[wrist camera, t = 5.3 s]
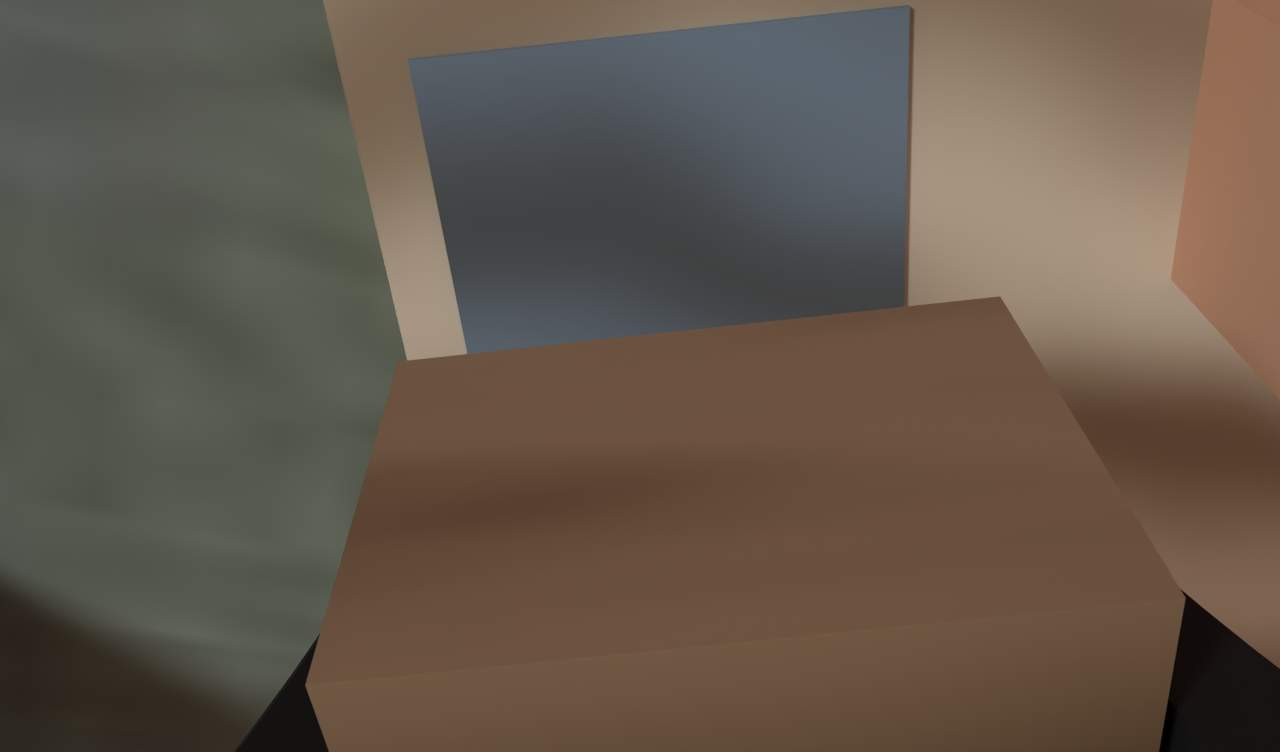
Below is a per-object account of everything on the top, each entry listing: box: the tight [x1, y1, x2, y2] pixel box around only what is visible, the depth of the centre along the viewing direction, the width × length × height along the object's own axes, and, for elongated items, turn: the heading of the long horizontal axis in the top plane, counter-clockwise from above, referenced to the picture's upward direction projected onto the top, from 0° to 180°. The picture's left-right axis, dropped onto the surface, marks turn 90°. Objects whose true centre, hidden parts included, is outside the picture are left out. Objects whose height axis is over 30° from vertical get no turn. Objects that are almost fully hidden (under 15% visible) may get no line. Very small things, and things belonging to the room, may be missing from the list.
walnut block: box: [305, 296, 1186, 752], centre depth 11 cm, size 6×6×4 cm
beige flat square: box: [323, 0, 1280, 668], centre depth 21 cm, size 20×18×1 cm
